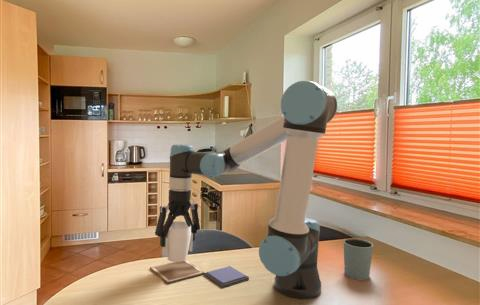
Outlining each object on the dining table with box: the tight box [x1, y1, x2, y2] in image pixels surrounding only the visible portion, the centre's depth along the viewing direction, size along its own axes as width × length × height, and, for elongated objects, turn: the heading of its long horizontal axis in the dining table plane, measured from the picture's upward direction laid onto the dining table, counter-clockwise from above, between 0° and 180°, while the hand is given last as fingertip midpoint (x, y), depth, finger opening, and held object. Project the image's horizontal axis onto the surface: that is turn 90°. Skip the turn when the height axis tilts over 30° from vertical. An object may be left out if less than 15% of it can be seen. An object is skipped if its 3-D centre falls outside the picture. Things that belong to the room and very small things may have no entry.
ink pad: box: [203, 265, 250, 289], centre depth 114 cm, size 11×11×1 cm
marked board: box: [149, 259, 205, 285], centre depth 116 cm, size 14×14×1 cm
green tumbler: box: [343, 238, 374, 281], centre depth 121 cm, size 10×10×12 cm
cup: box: [166, 221, 191, 262], centre depth 116 cm, size 9×9×12 cm
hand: (177, 252), depth 116 cm, fingers closed on cup, 9 cm apart
